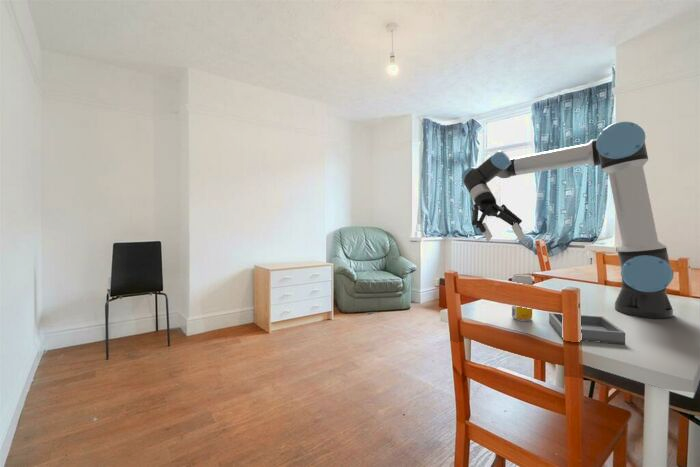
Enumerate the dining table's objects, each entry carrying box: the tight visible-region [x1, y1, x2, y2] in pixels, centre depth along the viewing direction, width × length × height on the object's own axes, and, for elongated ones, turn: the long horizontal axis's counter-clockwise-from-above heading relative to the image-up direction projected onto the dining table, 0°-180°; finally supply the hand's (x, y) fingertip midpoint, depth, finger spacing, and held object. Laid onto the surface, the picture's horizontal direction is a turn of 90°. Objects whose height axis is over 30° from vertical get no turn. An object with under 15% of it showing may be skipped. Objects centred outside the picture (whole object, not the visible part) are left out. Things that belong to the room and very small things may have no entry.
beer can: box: [511, 273, 533, 322], centre depth 109 cm, size 6×6×15 cm
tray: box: [548, 312, 626, 345], centre depth 95 cm, size 15×15×3 cm
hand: (506, 238), depth 116 cm, fingers open, 13 cm apart
